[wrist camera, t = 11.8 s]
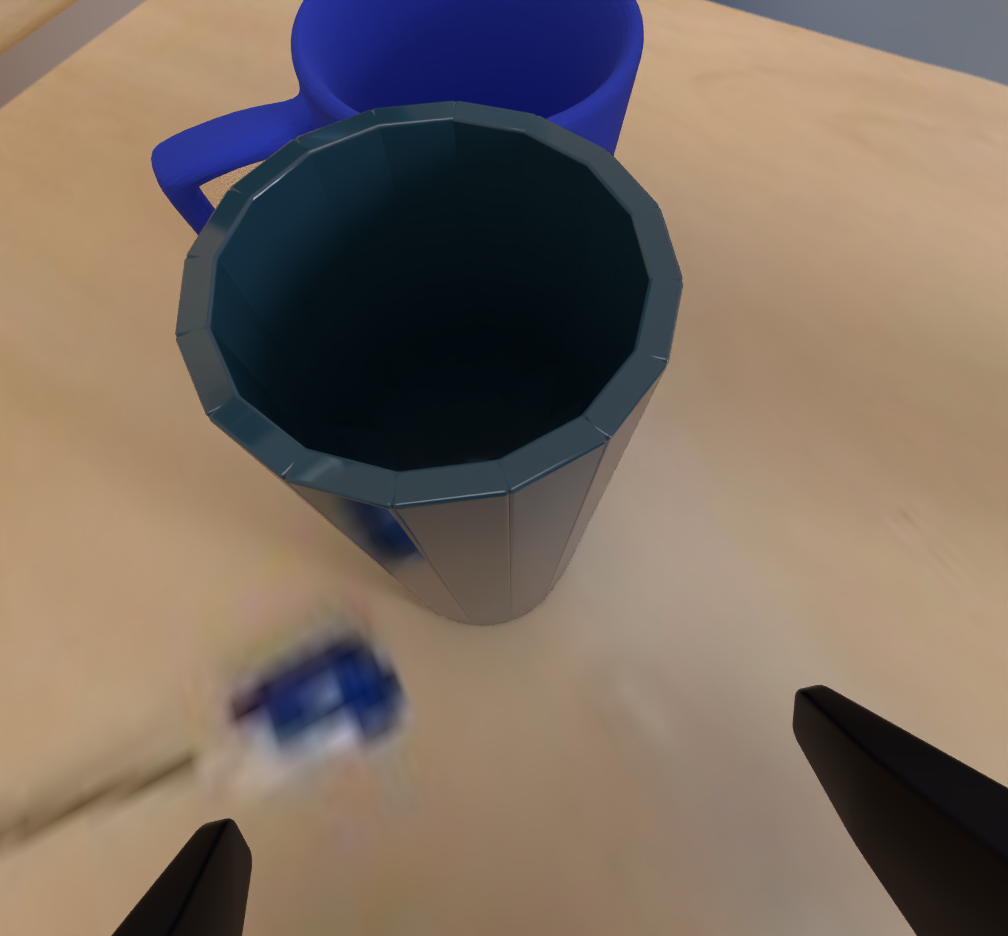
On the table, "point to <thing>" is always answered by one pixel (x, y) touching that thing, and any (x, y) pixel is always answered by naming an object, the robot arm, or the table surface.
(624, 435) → the pencil cup
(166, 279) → the table surface
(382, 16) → the mug
